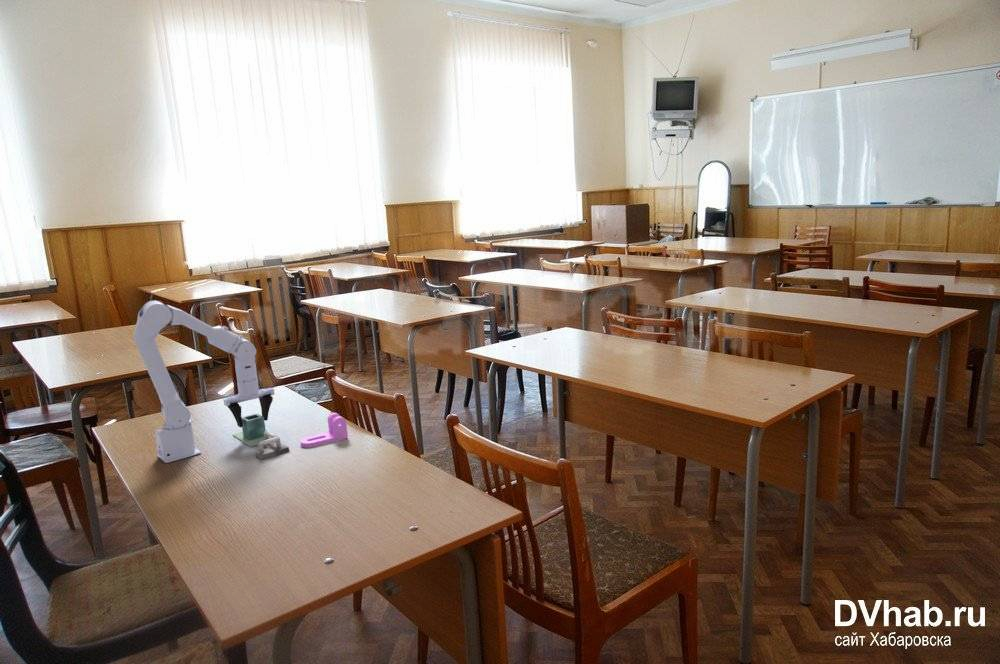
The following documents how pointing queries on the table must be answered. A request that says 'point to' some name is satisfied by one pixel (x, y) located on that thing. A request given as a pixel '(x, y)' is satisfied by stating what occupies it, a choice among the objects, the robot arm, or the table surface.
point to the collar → (253, 426)
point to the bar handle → (270, 446)
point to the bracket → (335, 432)
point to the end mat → (248, 442)
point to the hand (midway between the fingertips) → (252, 423)
